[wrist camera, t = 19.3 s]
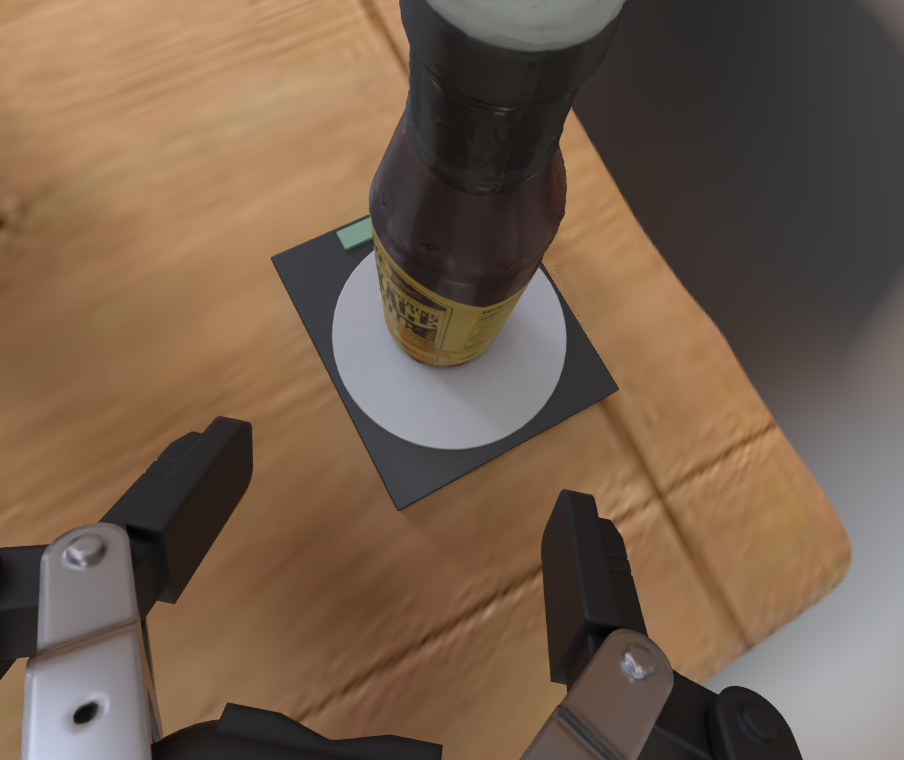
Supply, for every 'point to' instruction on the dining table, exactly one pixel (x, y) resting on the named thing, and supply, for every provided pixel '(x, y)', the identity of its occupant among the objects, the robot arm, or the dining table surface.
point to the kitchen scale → (437, 369)
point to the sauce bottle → (478, 163)
